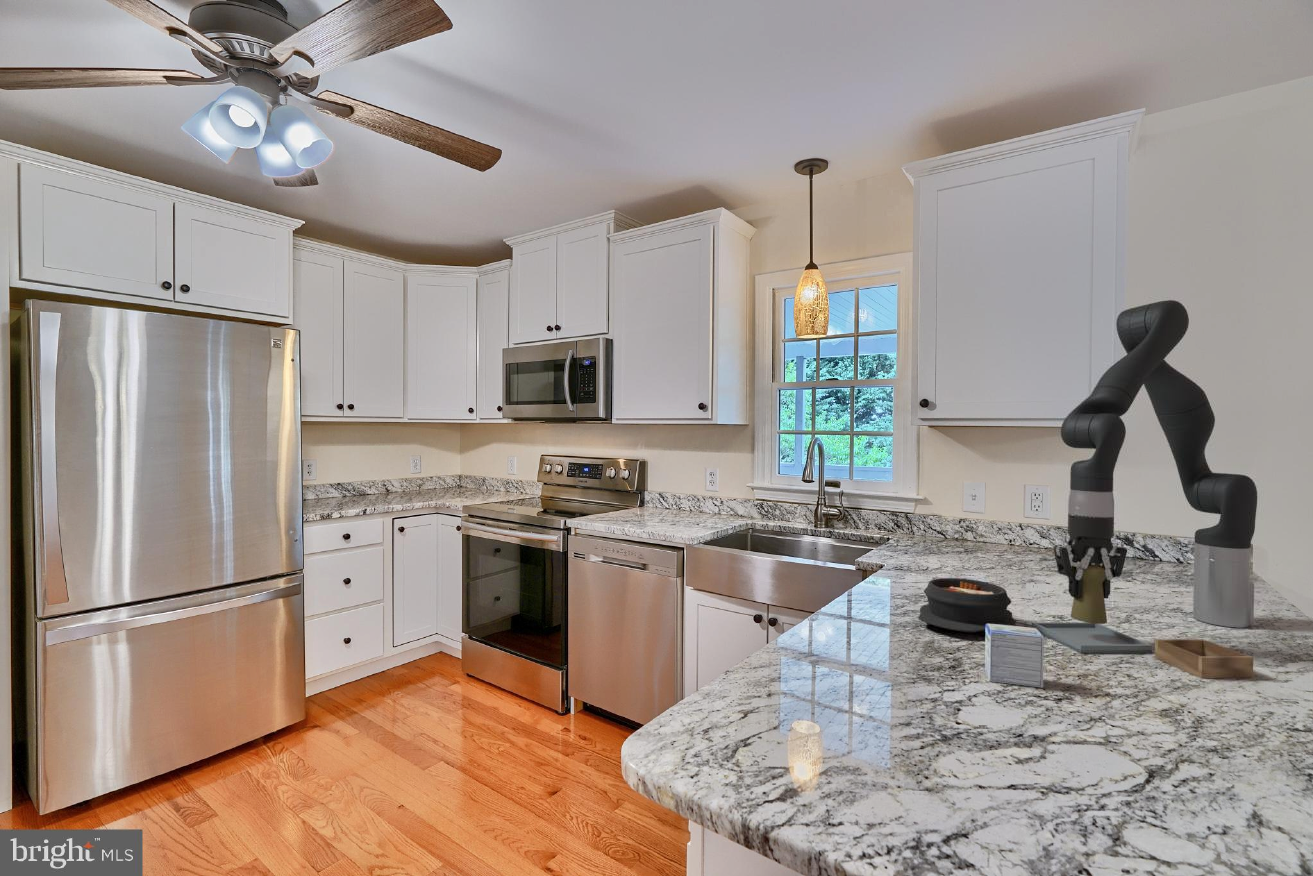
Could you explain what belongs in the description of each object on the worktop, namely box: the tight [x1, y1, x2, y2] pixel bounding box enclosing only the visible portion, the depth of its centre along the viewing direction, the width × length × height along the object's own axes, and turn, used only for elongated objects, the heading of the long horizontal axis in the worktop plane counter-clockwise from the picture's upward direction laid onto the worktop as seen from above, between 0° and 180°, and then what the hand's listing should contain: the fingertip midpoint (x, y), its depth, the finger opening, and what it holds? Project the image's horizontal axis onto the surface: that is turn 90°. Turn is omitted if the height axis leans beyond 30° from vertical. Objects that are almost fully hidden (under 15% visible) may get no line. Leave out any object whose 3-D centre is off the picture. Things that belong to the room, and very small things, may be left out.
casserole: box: [918, 577, 1016, 633], centre depth 132 cm, size 25×19×8 cm
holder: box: [1154, 638, 1254, 679], centre depth 108 cm, size 9×9×4 cm
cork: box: [1069, 564, 1108, 625], centre depth 122 cm, size 6×6×11 cm
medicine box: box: [984, 624, 1045, 688], centre depth 101 cm, size 8×4×9 cm, turn 71°
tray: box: [1031, 621, 1153, 655], centre depth 122 cm, size 14×14×2 cm
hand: (1089, 597), depth 122 cm, fingers closed on cork, 5 cm apart
